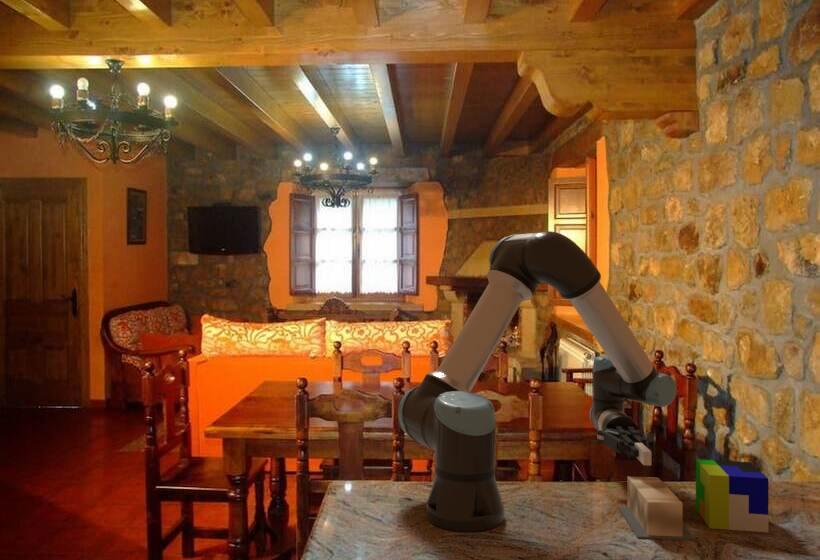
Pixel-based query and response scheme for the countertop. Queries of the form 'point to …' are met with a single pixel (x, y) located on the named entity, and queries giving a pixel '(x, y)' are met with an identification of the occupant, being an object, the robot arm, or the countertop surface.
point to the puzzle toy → (732, 495)
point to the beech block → (655, 506)
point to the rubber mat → (641, 532)
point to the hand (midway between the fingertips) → (647, 458)
